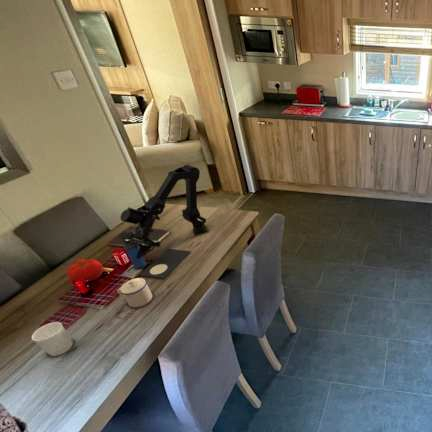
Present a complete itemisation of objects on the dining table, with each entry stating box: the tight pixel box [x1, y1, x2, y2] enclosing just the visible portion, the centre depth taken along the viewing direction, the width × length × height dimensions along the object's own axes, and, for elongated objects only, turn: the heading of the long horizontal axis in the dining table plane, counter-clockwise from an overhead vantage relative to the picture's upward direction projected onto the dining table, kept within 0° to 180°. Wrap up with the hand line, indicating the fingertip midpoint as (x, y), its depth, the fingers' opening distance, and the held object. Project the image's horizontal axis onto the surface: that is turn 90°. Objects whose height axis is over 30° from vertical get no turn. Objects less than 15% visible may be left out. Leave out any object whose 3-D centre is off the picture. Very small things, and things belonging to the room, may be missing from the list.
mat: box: [139, 248, 191, 280], centre depth 156 cm, size 20×12×1 cm, turn 174°
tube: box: [123, 242, 148, 270], centre depth 150 cm, size 5×5×13 cm
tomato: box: [66, 258, 104, 282], centre depth 143 cm, size 11×12×9 cm
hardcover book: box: [107, 225, 171, 251], centre depth 170 cm, size 16×23×2 cm
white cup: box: [31, 321, 74, 357], centre depth 113 cm, size 8×8×10 cm
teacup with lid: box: [117, 277, 153, 308], centre depth 133 cm, size 12×9×12 cm
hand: (133, 257), depth 149 cm, fingers open, 5 cm apart
